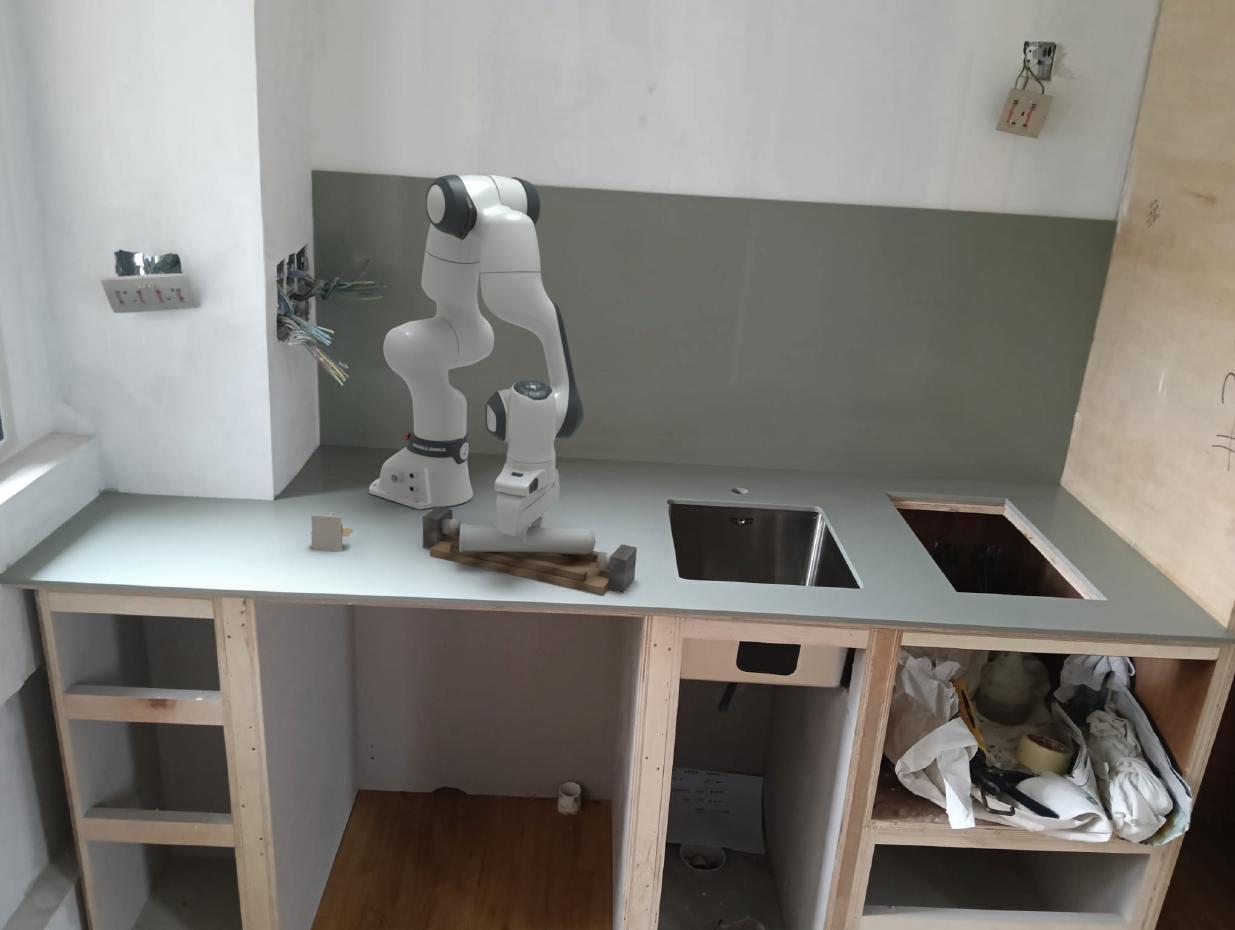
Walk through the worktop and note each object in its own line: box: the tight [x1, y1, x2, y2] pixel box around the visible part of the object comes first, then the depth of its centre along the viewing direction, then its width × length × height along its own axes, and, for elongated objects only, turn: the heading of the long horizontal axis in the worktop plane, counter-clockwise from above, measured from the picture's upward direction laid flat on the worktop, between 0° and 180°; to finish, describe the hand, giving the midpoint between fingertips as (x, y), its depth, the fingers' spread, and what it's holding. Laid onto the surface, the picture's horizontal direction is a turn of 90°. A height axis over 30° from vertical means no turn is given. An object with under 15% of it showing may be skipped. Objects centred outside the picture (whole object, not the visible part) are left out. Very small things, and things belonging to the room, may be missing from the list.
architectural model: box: [310, 512, 354, 552], centre depth 187 cm, size 3×7×7 cm, turn 89°
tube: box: [459, 522, 597, 555], centre depth 184 cm, size 5×5×25 cm
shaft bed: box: [422, 506, 638, 596], centre depth 186 cm, size 41×11×6 cm, turn 70°
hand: (528, 540), depth 185 cm, fingers closed on tube, 4 cm apart
